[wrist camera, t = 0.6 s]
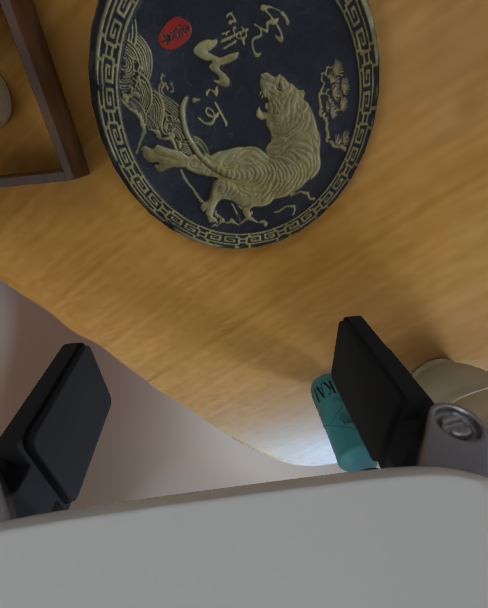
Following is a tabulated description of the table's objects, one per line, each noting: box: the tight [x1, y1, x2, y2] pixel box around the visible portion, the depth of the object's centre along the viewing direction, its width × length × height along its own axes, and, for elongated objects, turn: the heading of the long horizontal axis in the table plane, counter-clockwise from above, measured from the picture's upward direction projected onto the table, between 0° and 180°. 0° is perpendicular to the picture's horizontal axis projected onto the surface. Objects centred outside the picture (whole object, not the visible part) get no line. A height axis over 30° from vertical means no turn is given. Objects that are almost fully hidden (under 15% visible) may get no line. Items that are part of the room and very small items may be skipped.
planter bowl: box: [412, 359, 488, 428], centre depth 52 cm, size 16×16×11 cm
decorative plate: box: [88, 0, 379, 249], centre depth 31 cm, size 30×2×30 cm
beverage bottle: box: [311, 374, 378, 472], centre depth 46 cm, size 6×7×20 cm
